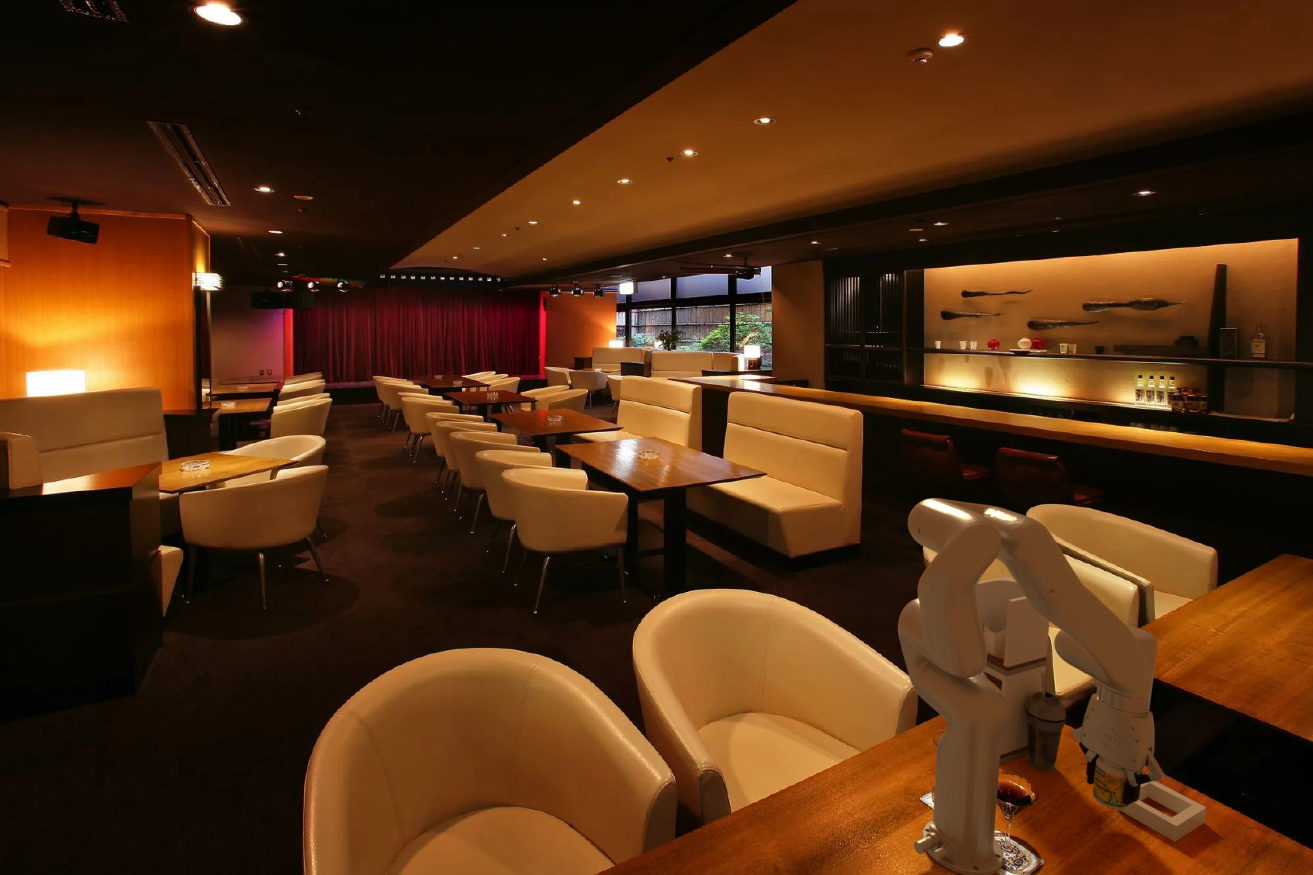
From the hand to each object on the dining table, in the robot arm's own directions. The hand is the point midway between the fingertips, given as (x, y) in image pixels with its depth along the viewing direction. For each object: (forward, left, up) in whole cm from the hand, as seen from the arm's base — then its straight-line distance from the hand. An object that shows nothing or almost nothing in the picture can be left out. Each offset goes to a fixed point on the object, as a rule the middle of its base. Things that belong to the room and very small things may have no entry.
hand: (1111, 790), depth 120 cm
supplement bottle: (0, 0, -2) cm, 2 cm away
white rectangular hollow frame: (+10, -3, -6) cm, 12 cm away
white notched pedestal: (+4, +25, -6) cm, 26 cm away
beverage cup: (+5, +16, -6) cm, 18 cm away
